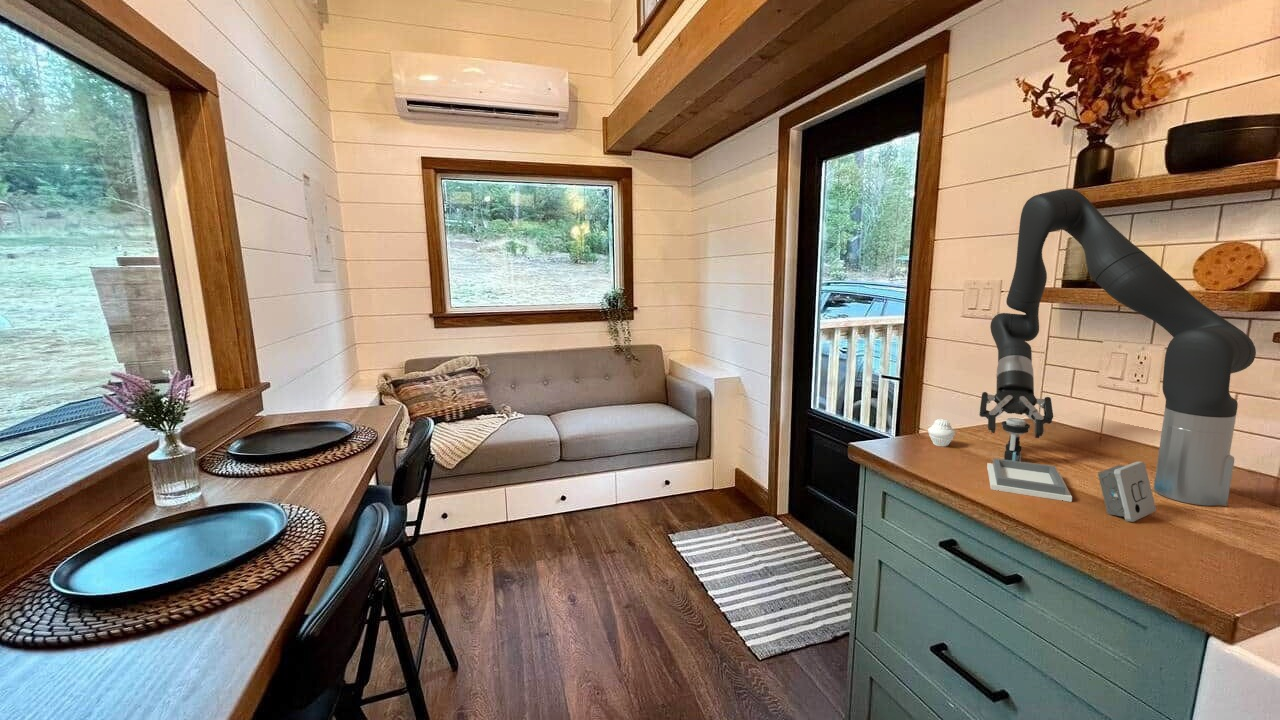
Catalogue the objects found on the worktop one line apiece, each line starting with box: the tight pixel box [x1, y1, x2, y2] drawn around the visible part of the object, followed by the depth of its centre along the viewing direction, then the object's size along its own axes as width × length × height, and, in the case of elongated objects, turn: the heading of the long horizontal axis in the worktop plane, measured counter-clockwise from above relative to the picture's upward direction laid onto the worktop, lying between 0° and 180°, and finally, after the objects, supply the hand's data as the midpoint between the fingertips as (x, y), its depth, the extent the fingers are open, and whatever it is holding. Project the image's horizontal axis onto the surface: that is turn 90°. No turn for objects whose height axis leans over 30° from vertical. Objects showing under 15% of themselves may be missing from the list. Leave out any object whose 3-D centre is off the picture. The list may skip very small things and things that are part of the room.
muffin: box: [927, 418, 956, 448], centre depth 133 cm, size 6×6×7 cm
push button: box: [1001, 417, 1031, 462], centre depth 121 cm, size 7×5×10 cm
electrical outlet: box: [1097, 461, 1157, 523], centre depth 95 cm, size 9×5×9 cm, turn 116°
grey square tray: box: [986, 457, 1073, 503], centre depth 109 cm, size 13×14×2 cm
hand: (1015, 433), depth 121 cm, fingers open, 8 cm apart
